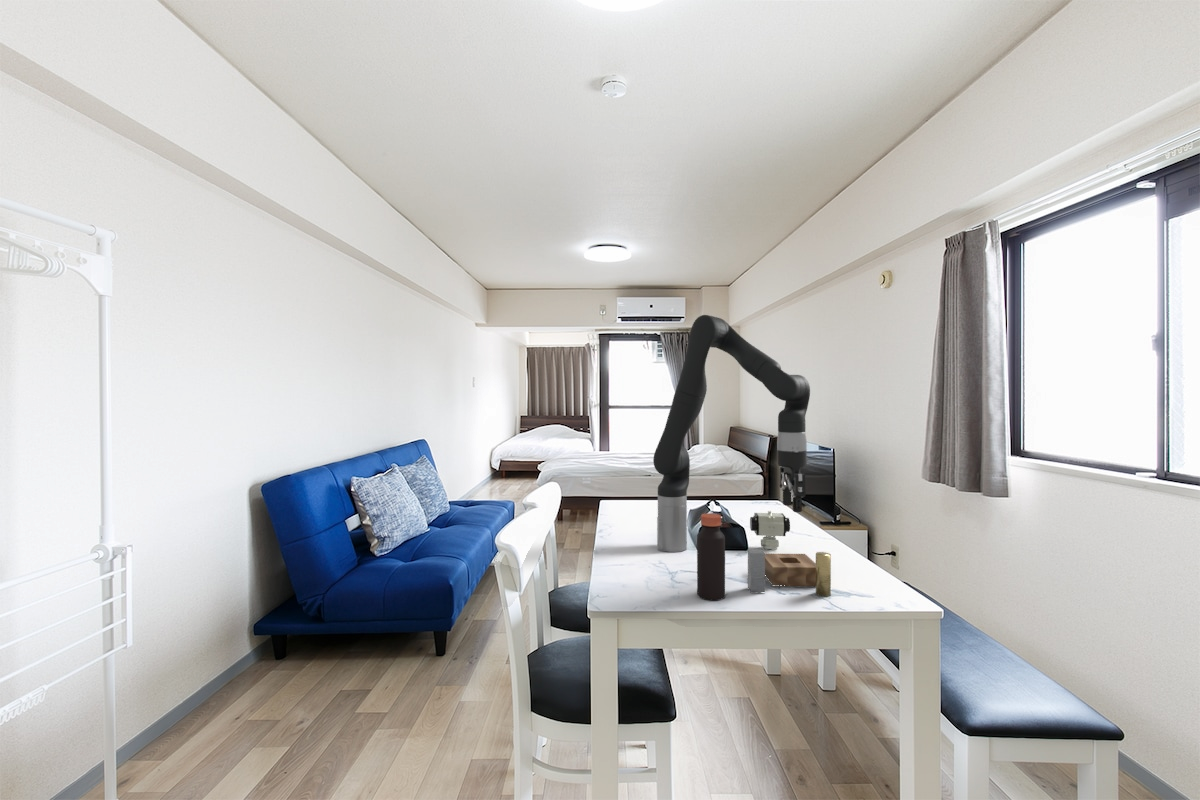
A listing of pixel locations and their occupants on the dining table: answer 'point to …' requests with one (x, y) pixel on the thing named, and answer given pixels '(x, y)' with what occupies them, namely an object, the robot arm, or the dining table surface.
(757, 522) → the pneumatic valve
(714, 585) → the bottle
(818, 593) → the cylinder
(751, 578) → the square bit
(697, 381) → the robot arm
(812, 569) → the socket block
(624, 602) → the dining table surface
